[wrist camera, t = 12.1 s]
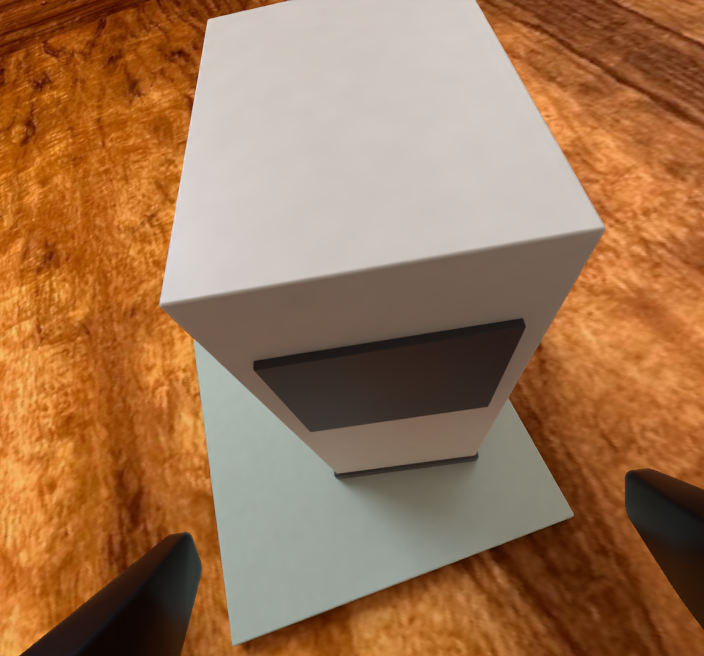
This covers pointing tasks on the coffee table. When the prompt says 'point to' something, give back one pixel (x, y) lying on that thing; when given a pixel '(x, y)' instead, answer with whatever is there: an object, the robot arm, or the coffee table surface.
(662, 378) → the coffee table surface
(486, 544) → the mat
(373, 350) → the white tilted block
